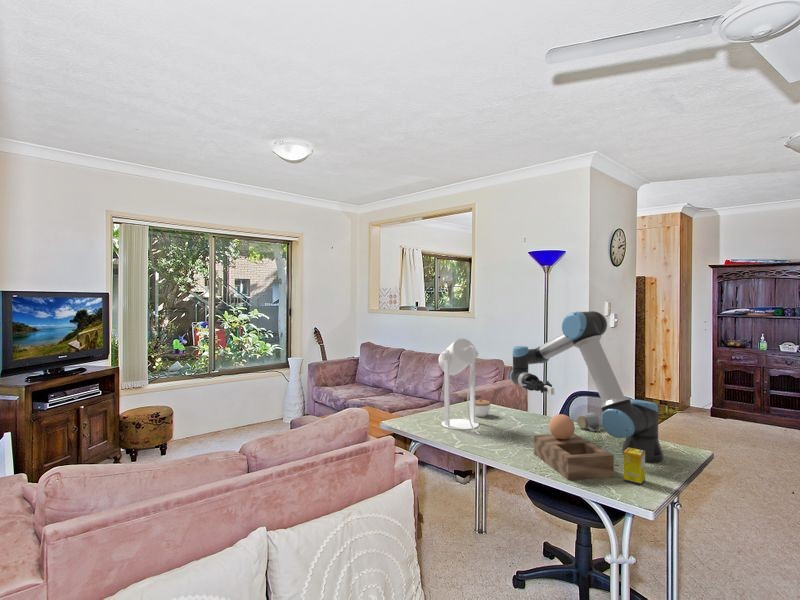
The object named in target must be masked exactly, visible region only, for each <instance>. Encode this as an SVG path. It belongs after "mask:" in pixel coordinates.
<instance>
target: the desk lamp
mask: <svg viewBox="0 0 800 600" xmlns="http://www.w3.org/2000/svg"><path fill="white" fill-rule="evenodd" d="M478 357H479V351H478V350H477V349H476V347H475V345H474V344H473V343H472V342H471V341H470V340H468V339H466V338H462V337H461V338H457V339H455V340H454V341H453V342H452V343H451V344H450V345H449V346H448V347H447V348H445V349H444V351H442V352H441V353H440V354H439V356H438V366H439V368H440V370H441V371H442V372H443V373H444V374H443V375H444V376H443V377H444V383H443V384H444V385H443V386H444V389H443V391H444V394H443V395H444V400H443V401H444V420H442V422H441V426H442V427H444V428H446V429H450V430H457V431H465V430H467V431H468V430H469V431H470V430H473V431H474V432H475V433H476V434H478V435H481V433H480V432H478V431H477V430H476V428H478V427H479V426H480V424H479V423H478V421H476V416H475V400H476V359H477V358H478ZM468 366H469V377H468V378H467V379H468V380H467V381H468V384H467V387H468V390H467V398H466V401H467V403H466V404H467V405H466V408H467V415H468V418H451V416H450V413H451V409H450V408H451V407H450V405H451V403H450V400H451V399H450V398H451V396H450V395H451V391H450V388H451V387H450V383H451V382H450V376H456V375H459V374H460V373H461V372H462V371H463V370H465V369H466V368H467V367H468Z"/></svg>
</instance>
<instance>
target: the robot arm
mask: <svg viewBox="0 0 800 600" xmlns="http://www.w3.org/2000/svg"><path fill="white" fill-rule="evenodd" d="M562 320H563V321H562V323H561V332H562V334H560V335H558V336H557V337H556V336H555V338H553V339H550V340H549V341H547V342H545V343H543V344H541V345H540V346H538V347H536V348H530V349H529V347H528V346H526V345H525V346H524V345H515V346H513V347H512V370H511V372H510V373H509V380H510V381H511V382H512V383H513V384H515V385H517V386H519V387H522V388H524V389H525V390H528V391H530V392H531V391H532V392H533V391H536V392H540V393H541V394H543V393H546V394H548V395H555V387H553V384H551V383H550V381H549V380H547V381H544V382H543V380H541V379H540V378H539V377H538V376H537V375H535V374H532V373H530V372H529V365H534V364H545V363H547V362H549V361H550V359H551V358H553V357H555V356H557V355H560V354H561V353H563V352H565V351H568V350H569V349H571V348H578V349H579V351H580V353H581V355H582V357H583V360H584V362H585V365H586V366H587V369H588V372H589V374H590V376H591V378H592V380H593V384H594V386H595V388H596V390H597V392H598V396H599V398H600V399H601V402H602V404H601V406H600V408H601V412H602V414H601V417H600V422H601V426H602V428H603V429H604V431H605V432H606V433H607V434H608V435H609V436H611V437H613V438H616V439H625V440H624V442H623V445H622V447H621V453H622V455H623V451H625V450H626V449H627V448H633V449H638V450H643V451H645V463H659V462H662V461H663V460H664V452H663V450H662V447H661V444H660V440H659V414H660V412H659V405H658V404H657V403H655V402H652V401H647V400H642V399H633V398H628V396H627V397H626V396H625V394H624V393H623V391H622V388H621V386H620V384H619V382H618V380H617V377H616V375H615V373H614V370H613V368H612V366H611V364H610V361H609V360H608V357H607V355H606V353H605V351H604V349H603V347H602V344H601V338H602V335H604V334H605V332H606V331H607V329H608V322H607V318H606V317H605V316H604V315H603V314H602V313H600V312H598V311H594V310H593V311H591V310H590V311H578V310H577V311H574V312H573V311H572V312H569V313H568V314H566V315H565V317H563V319H562Z"/></svg>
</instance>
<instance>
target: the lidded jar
mask: <svg viewBox="0 0 800 600" xmlns="http://www.w3.org/2000/svg"><path fill="white" fill-rule="evenodd" d="M490 409H491V401H490V400H486V399H482V398H479V399H475V417H479V418H483V417H487V415H488V414H489V413H490Z"/></svg>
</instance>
